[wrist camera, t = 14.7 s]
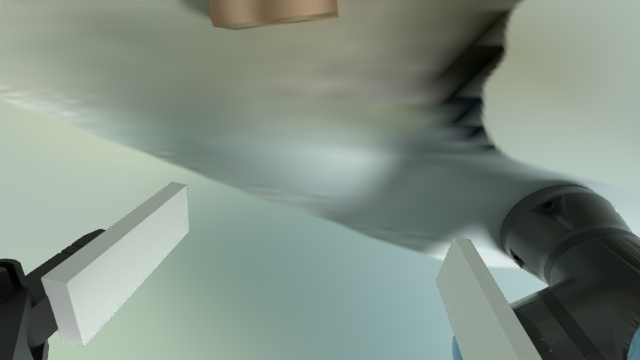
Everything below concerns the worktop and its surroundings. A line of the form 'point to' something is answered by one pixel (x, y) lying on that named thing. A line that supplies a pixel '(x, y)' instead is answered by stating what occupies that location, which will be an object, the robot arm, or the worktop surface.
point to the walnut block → (269, 12)
